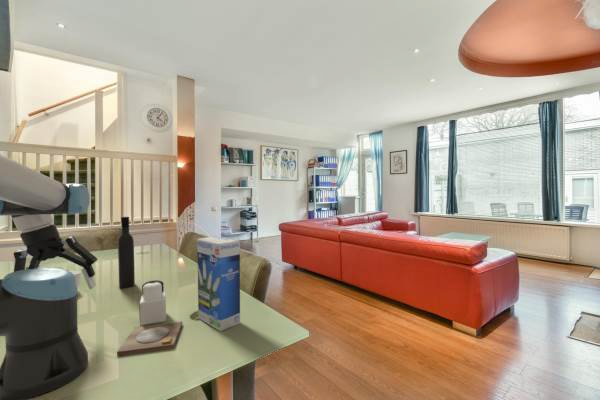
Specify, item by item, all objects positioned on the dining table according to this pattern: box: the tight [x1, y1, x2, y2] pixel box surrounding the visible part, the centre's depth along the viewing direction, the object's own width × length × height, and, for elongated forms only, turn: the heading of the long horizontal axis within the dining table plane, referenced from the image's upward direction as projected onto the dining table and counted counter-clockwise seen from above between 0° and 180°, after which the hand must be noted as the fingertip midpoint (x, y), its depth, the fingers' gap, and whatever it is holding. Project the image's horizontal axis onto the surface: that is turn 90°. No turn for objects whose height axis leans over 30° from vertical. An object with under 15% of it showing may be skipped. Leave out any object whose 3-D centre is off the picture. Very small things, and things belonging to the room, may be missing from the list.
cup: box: [68, 270, 82, 293], centre depth 114 cm, size 7×10×8 cm
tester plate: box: [116, 321, 183, 357], centre depth 77 cm, size 13×13×2 cm
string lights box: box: [196, 235, 241, 332], centre depth 87 cm, size 13×8×26 cm, turn 48°
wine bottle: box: [117, 216, 136, 289], centre depth 120 cm, size 6×6×30 cm
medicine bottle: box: [138, 279, 167, 327], centre depth 88 cm, size 7×7×12 cm
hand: (67, 295), depth 81 cm, fingers open, 13 cm apart
